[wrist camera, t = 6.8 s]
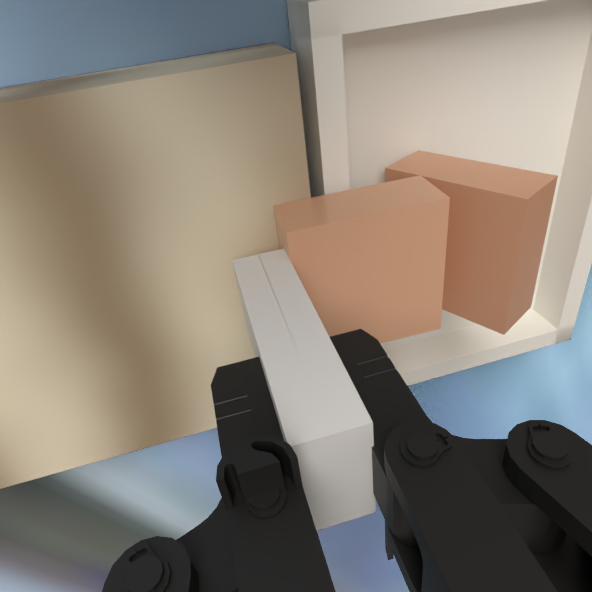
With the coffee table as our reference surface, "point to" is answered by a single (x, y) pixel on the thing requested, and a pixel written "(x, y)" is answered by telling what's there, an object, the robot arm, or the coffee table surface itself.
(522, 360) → the coffee table surface
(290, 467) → the robot arm
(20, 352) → the board
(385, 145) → the tray
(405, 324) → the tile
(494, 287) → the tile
